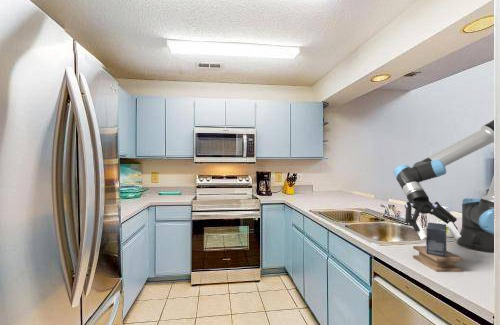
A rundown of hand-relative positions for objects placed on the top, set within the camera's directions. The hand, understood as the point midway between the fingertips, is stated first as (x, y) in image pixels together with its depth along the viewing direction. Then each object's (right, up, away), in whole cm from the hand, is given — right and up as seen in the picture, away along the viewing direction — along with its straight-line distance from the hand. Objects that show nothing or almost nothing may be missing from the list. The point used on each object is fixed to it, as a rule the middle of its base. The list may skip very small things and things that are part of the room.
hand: (441, 238), depth 97 cm
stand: (0, -11, +3) cm, 11 cm away
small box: (0, -6, +3) cm, 7 cm away
